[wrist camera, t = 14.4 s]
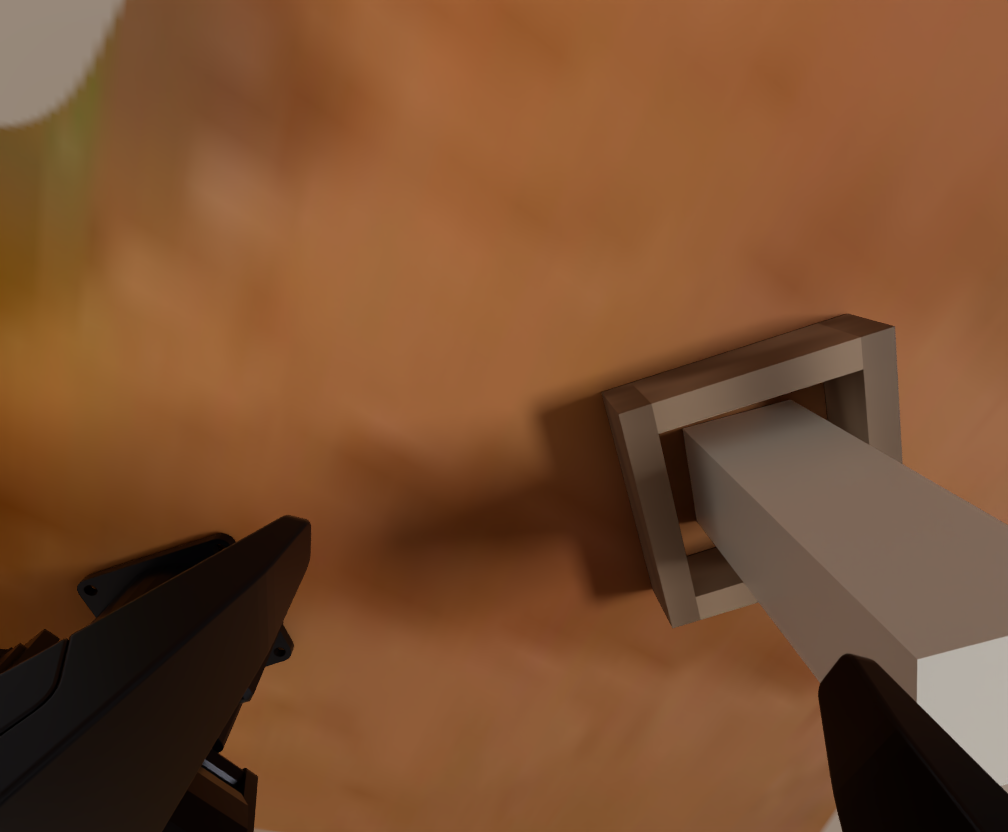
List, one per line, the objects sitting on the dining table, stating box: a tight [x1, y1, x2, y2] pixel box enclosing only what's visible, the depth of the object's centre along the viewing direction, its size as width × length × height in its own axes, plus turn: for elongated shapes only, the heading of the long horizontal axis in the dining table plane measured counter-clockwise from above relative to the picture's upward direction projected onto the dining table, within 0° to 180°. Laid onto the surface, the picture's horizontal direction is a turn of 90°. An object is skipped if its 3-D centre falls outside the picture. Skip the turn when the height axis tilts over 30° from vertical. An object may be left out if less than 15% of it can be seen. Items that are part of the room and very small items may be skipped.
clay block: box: [683, 399, 1008, 786], centre depth 18 cm, size 4×4×12 cm
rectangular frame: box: [601, 314, 902, 628], centre depth 23 cm, size 10×10×2 cm
